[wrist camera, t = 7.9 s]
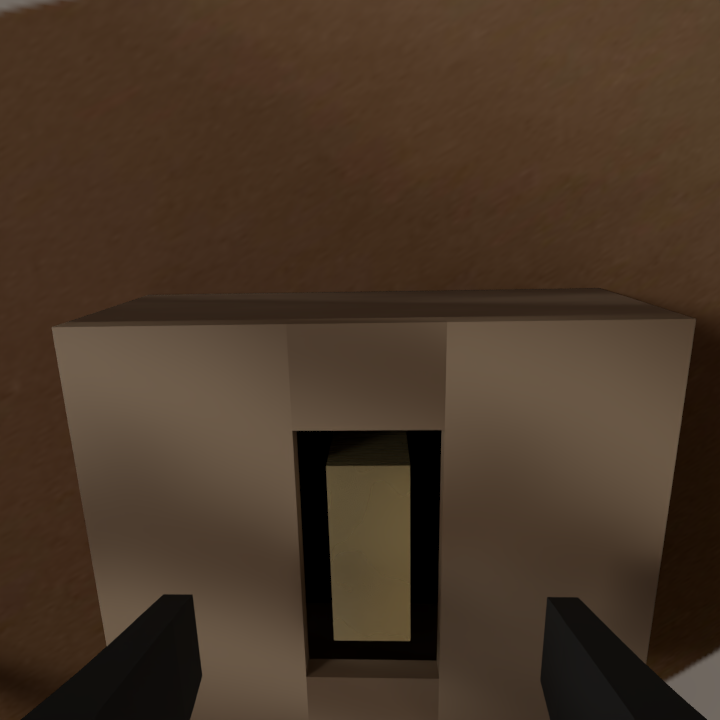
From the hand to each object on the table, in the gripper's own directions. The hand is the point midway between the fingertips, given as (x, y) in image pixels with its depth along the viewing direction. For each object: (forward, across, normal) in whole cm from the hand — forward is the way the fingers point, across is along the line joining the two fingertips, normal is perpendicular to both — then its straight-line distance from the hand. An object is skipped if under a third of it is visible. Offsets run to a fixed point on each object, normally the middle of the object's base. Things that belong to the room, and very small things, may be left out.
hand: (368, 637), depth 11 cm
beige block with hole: (+8, 0, 0) cm, 8 cm away
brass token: (+8, 0, 0) cm, 8 cm away
